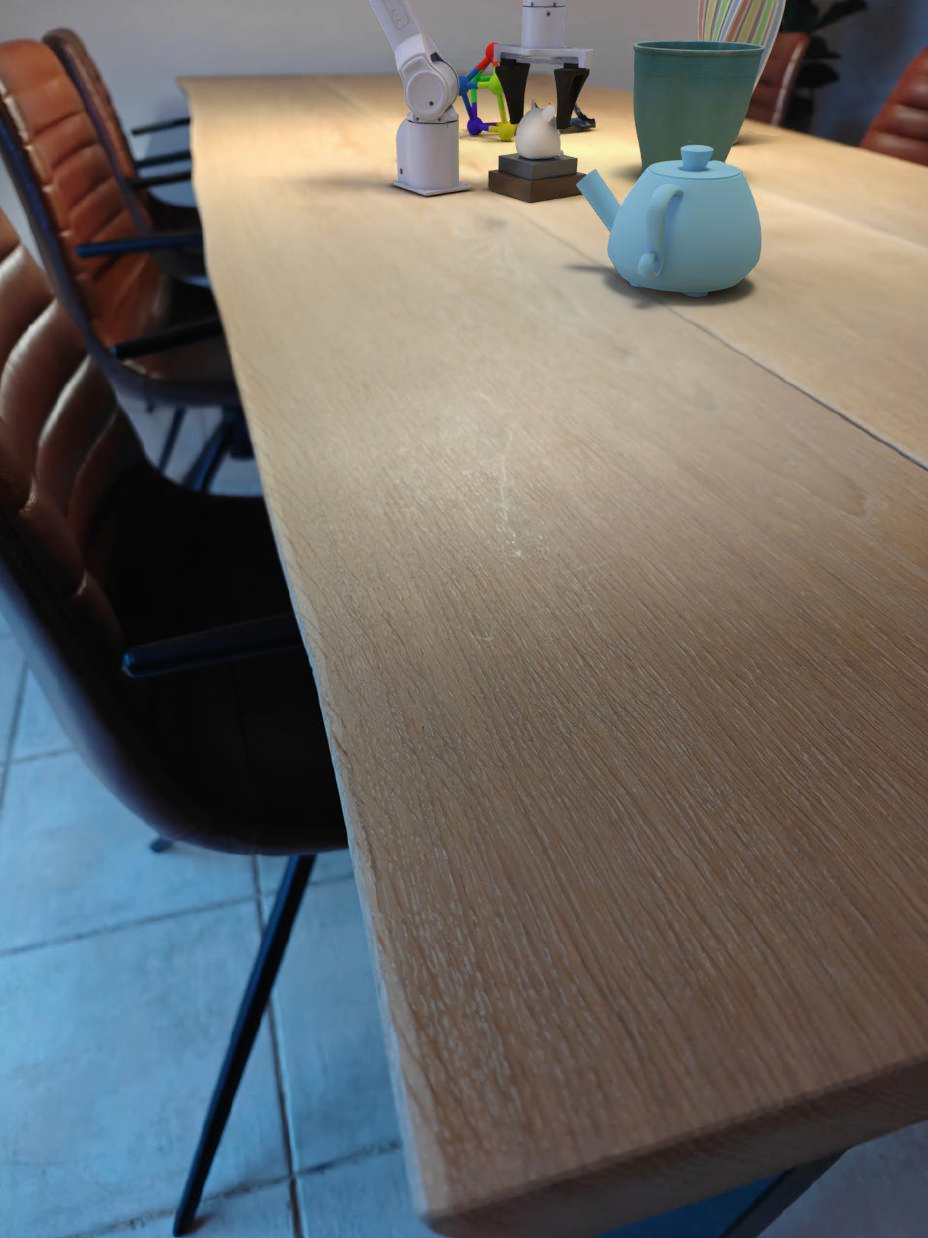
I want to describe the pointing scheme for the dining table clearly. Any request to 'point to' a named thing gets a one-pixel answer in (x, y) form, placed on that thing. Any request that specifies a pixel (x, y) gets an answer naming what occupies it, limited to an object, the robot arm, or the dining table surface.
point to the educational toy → (474, 83)
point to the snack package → (579, 120)
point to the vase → (741, 24)
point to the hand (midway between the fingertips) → (539, 126)
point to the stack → (535, 177)
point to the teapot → (681, 224)
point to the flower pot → (691, 95)
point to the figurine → (538, 134)
